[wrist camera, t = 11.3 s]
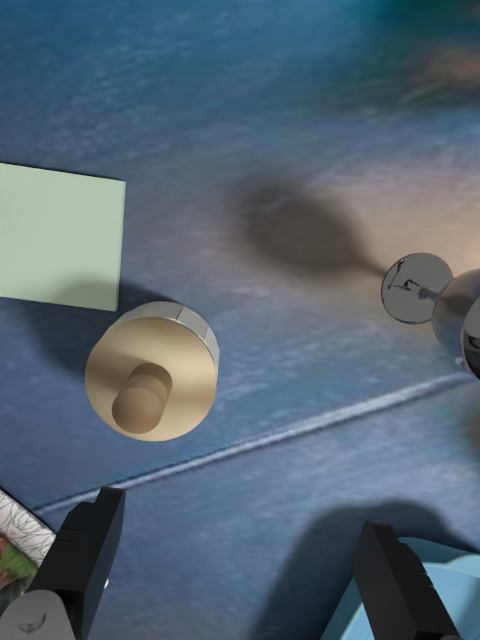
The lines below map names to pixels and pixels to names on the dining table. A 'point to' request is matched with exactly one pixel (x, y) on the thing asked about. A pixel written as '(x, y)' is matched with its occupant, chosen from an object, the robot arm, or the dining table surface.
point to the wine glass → (438, 304)
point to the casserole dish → (449, 581)
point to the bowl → (179, 315)
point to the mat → (60, 237)
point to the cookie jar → (20, 548)
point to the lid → (151, 378)
